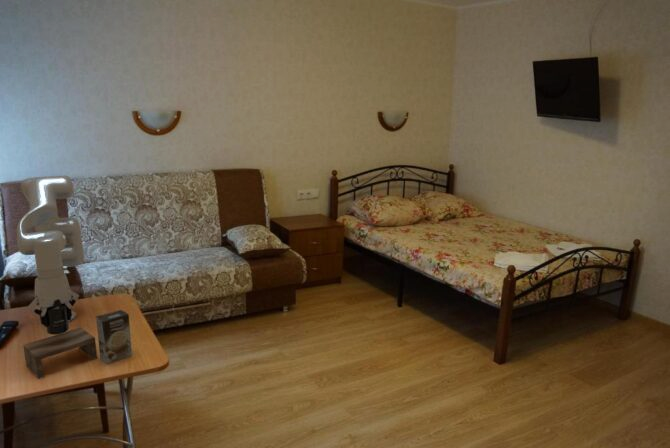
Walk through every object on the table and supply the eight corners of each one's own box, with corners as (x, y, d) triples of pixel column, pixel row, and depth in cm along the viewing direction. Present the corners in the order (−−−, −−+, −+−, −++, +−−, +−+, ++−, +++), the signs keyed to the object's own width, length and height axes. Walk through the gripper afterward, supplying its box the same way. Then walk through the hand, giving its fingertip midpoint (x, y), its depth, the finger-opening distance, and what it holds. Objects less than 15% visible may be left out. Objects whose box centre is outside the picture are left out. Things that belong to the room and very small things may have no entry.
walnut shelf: (26, 366, 174) (23, 344, 172) (83, 347, 188) (81, 327, 186) (38, 378, 166) (35, 356, 165) (97, 358, 180) (94, 337, 178)
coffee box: (107, 364, 175) (102, 321, 172) (99, 358, 180) (94, 316, 176) (133, 355, 182) (128, 314, 178) (125, 349, 186) (121, 309, 182)
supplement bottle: (59, 335, 170) (55, 302, 168) (42, 334, 172) (37, 300, 169) (74, 327, 177) (69, 295, 174) (56, 325, 178) (52, 293, 175)
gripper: (73, 264, 178) (79, 312, 182) (17, 276, 166) (25, 327, 170) (81, 269, 173) (87, 317, 177) (25, 281, 161) (32, 333, 165)
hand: (57, 322), depth 174 cm, fingers closed on supplement bottle, 6 cm apart
